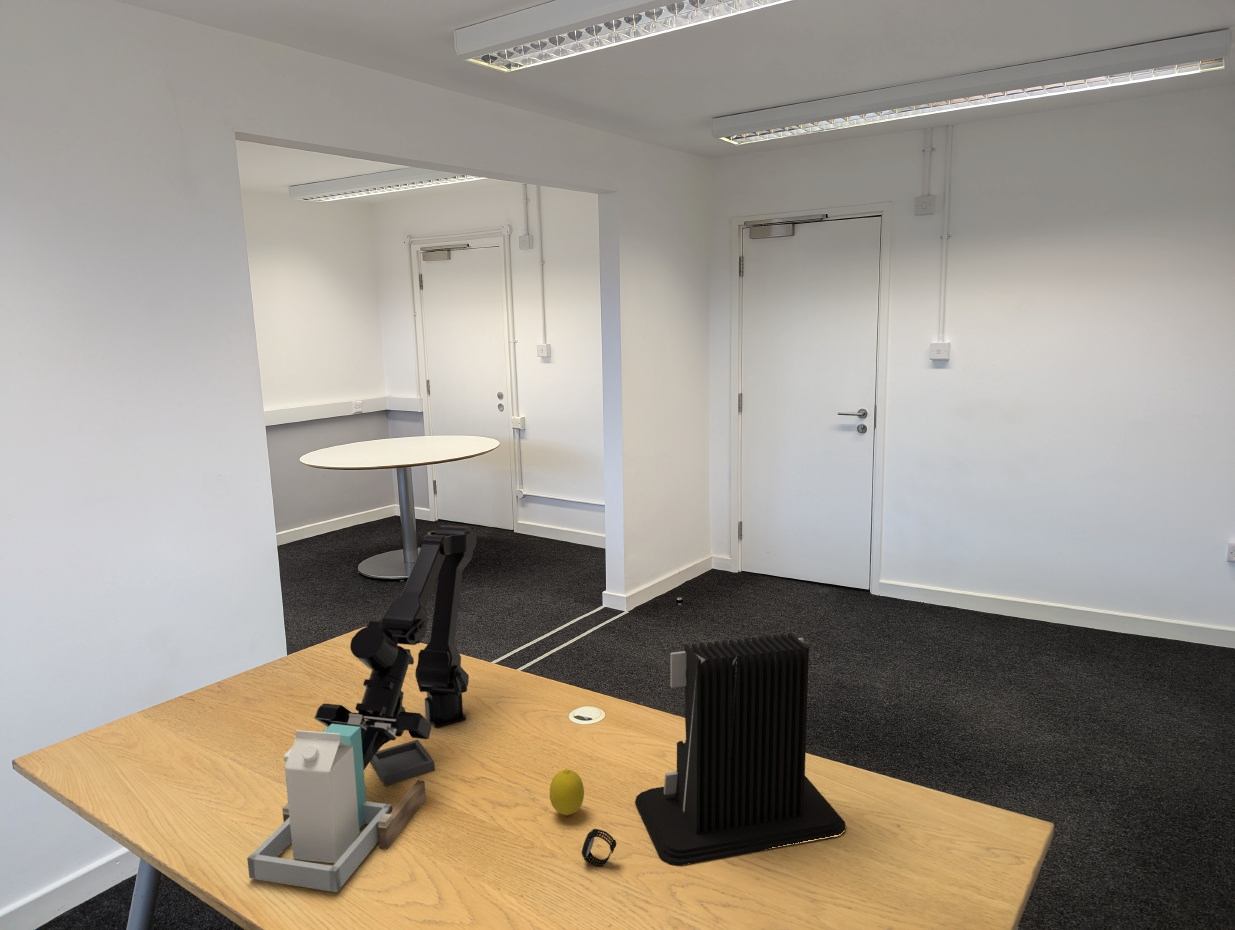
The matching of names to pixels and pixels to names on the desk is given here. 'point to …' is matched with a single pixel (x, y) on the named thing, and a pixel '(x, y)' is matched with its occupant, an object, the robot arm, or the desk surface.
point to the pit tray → (402, 762)
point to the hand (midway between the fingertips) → (357, 774)
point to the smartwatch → (589, 843)
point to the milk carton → (321, 796)
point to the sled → (333, 877)
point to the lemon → (566, 792)
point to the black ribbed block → (739, 755)
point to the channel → (394, 814)
